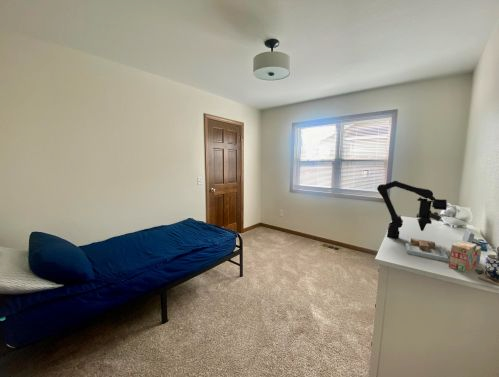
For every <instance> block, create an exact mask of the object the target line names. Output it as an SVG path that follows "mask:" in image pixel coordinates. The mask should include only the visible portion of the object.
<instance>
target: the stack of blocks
mask: <svg viewBox="0 0 499 377" xmlns="http://www.w3.org/2000/svg"><path fill="white" fill-rule="evenodd" d="M450 248H451V249H450V256H449V261H448V268H451V269H453V270H456V271H459V272H462V273H467V272H469V271H470V270H472V269H473V268H474V267H475V266H478V265H479V264H480V261H481V257H482V256H481V255H482V246H480V245H478V244H477V243H474V242H468V241H463V240H459V241H457V242H455V243H453V244H451V247H450Z"/></svg>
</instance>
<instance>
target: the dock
mask: <svg viewBox="0 0 499 377" xmlns="http://www.w3.org/2000/svg"><path fill="white" fill-rule="evenodd" d="M405 251H406V254H409V255H413V256H418V257H422V258H426V259H427V258H428V259H432V260H437V261H441V262H447V263H449V262H450V257H448V255H447V253H446V252H445V250H444V249H440V250H439V254H440V255H439V254H434V253H428V252H424V251H423V252H422V251H418V250H411V248H410V243H407V242H406V243H405Z"/></svg>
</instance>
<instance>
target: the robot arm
mask: <svg viewBox="0 0 499 377" xmlns="http://www.w3.org/2000/svg"><path fill="white" fill-rule="evenodd" d="M395 187H396V188H398V189H402V190H405V191H407V192H411V193H414V194H416V195H418V196H420V197H418V198H416V201H417V202H419V208H418V213H417V214H416V216H415V217H416V218H417V219H416V220H417V223H418V225H419V226H418V227H419V229H420V231H421V232H423V231H424V230H425V228H426V225H428V224H429V225H431V224H432V222H433V221H432V220H431V219H433V220H436V222H440V220H441V218H442V215H439V213H438V212H437V211H434V212H432V210H431V209H432V208H433V209H434V210H440V211H446V210H447V208H448V204H447V203H448V201H447V199H445V198H444V199H440V198H436V197H435V196H434V193H433V190H430V189H428V188H423V187H415V186H414V185H410V184H408V183H404V182H401V181H398V180H393V181H391V182H388V183H384V184H383V183H381V184H379V185H378V186H377V187H376V188H377V189H376V190H377V191H378V193H379V195H380V196H381V197H382V199H383V201H384V204H385V206H386V209H388V212H389V215H390V218H391V222H389V223H388V226H387V233H386V237H387V238H393V239H399V238H400V230H399V229H400V228H402V227H403V223H404V220H403V219H402V216H401V215H398V213H397V212H396V209H395V207H394V205H393V202H392V200H391V198H390V196H389V192H388V190H389V189H392V188H395ZM428 199H429V200H428ZM431 207H432V208H431Z"/></svg>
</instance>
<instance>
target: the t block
mask: <svg viewBox="0 0 499 377" xmlns="http://www.w3.org/2000/svg"><path fill="white" fill-rule="evenodd" d="M409 244H410V245H414V246H416V247H417V246H418V248H419V251H423V252H424V251H425V252H429V249H436V242H435V241H429V240H424V239H417V238H412V237H411V238H410V243H409Z"/></svg>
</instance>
